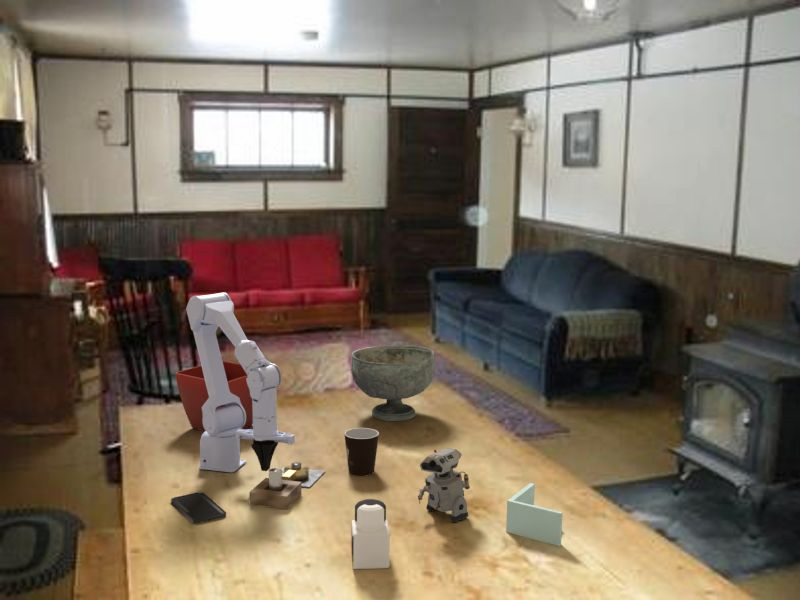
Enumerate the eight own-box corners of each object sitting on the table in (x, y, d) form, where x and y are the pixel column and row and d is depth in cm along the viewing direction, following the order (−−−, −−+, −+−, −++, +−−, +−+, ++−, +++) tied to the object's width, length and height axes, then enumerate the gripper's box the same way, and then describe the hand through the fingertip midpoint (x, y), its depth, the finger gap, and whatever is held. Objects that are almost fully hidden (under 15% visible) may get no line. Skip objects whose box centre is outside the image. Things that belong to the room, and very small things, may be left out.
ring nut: (273, 484, 205) (273, 472, 204) (289, 469, 214) (289, 458, 214) (297, 486, 203) (297, 475, 203) (312, 472, 213) (312, 461, 212)
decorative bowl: (436, 427, 249) (436, 360, 246) (348, 428, 249) (347, 360, 247) (434, 405, 275) (434, 343, 273) (354, 405, 276) (353, 344, 273)
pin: (267, 501, 196) (266, 472, 195) (272, 496, 199) (271, 467, 198) (279, 502, 195) (279, 473, 194) (284, 497, 198) (284, 468, 197)
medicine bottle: (351, 552, 171) (351, 496, 169) (387, 552, 172) (387, 495, 170) (352, 570, 164) (352, 510, 162) (389, 568, 165) (390, 509, 163)
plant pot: (269, 424, 252) (269, 368, 249) (223, 442, 236) (222, 382, 233) (222, 413, 262) (220, 359, 259) (174, 429, 246) (173, 372, 243)
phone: (202, 491, 199) (227, 513, 187) (202, 495, 200) (227, 518, 187) (169, 498, 195) (193, 521, 183) (169, 503, 195) (193, 526, 183)
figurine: (407, 517, 188) (408, 452, 186) (444, 504, 196) (445, 441, 193) (436, 531, 181) (437, 463, 179) (473, 516, 189) (475, 451, 187)
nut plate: (266, 483, 207) (266, 481, 207) (284, 467, 217) (284, 466, 217) (309, 488, 204) (309, 486, 204) (325, 471, 215) (325, 470, 215)
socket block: (249, 504, 194) (249, 492, 194) (265, 489, 203) (265, 477, 202) (286, 509, 192) (286, 496, 191) (301, 494, 200) (301, 481, 200)
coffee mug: (374, 479, 210) (374, 440, 209) (340, 476, 212) (340, 437, 210) (384, 462, 222) (384, 425, 220) (352, 460, 223) (352, 423, 222)
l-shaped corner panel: (559, 548, 176) (560, 513, 174) (506, 534, 182) (507, 500, 181) (580, 527, 186) (581, 494, 184) (529, 514, 192) (530, 483, 191)
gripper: (229, 417, 203) (230, 472, 205) (286, 422, 199) (287, 478, 201) (242, 409, 209) (243, 462, 212) (297, 414, 206) (298, 468, 208)
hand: (265, 469), depth 207 cm, fingers closed
